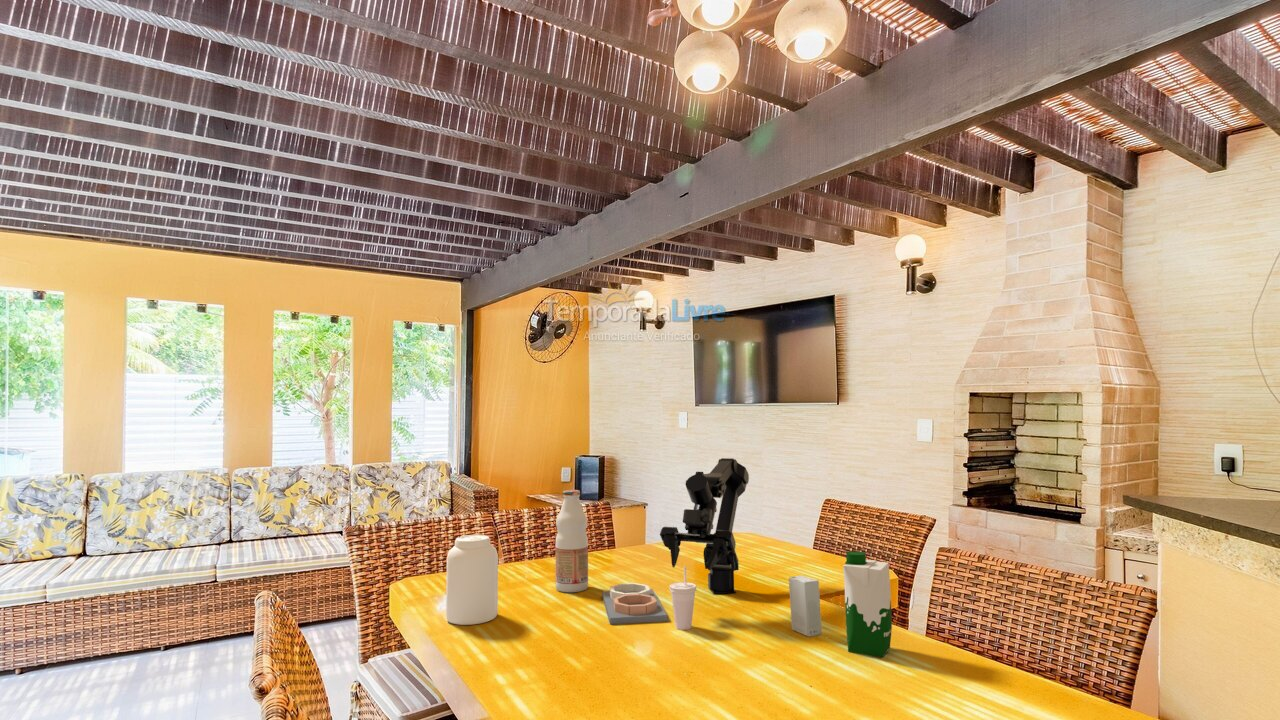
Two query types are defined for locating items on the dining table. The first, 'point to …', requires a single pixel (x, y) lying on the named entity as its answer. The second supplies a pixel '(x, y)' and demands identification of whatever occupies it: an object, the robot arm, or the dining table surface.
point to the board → (632, 604)
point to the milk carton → (867, 605)
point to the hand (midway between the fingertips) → (690, 567)
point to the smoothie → (683, 603)
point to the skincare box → (805, 605)
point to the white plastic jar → (472, 581)
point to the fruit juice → (571, 545)
